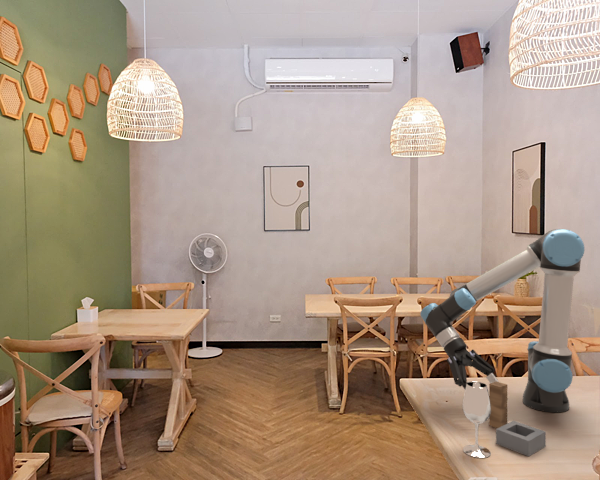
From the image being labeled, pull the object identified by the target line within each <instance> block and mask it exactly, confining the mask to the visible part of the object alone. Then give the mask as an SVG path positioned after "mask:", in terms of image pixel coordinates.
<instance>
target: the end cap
mask: <svg viewBox="0 0 600 480" xmlns="http://www.w3.org/2000/svg"><path fill="white" fill-rule="evenodd" d="M546 433H547V432H546V431H545V430H542V429H540V428H537V427H534V426H531V425H528V424H525V423H521V422H520V421H516V420H512V421H510V422H507V424H505V425H503V426H501V427H499V428H495V444H496V445H498V446H500V447H503V448H506V449H509V450H510V451H513V452H516V453H519V454H521V455H524V456H526V457H530V456H532V455H534V454H536V453H537V452H539V451H540V450H542V449H544V448H545V447H546V443H547V442H546V441H547V440H546V439H547V438H546V436H547V434H546Z"/></svg>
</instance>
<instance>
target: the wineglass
mask: <svg viewBox="0 0 600 480" xmlns="http://www.w3.org/2000/svg"><path fill="white" fill-rule="evenodd" d="M467 382H468V381H467ZM462 411H463V414H464V416H465V418H466V419H467V420H469V422H471V423H473V424H474V429H475V432H474V433H475V435H474V437H475V443H474V444H467V445H465V446H463V448H462V451H463V453H465V454H466V455H467V456H470V457H472V458H477V459H485V458H488V457H490V456H491V454H492V452H491V451H490V449H488V448H486V447H484V446H482V445H479V426H480V425H481V424H483V423H486V421H488V420H489V417H490V415H491V403H490V398H489V388H488V385H487V384H486V383H484V382H481V381H475V380H473V381H470V382H468V383H467V385H466V389H464V394H463V400H462Z"/></svg>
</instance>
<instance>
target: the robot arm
mask: <svg viewBox="0 0 600 480" xmlns="http://www.w3.org/2000/svg"><path fill="white" fill-rule="evenodd" d="M584 254H585V244H584V241H583V239H582V238H581V237H580V235H578V233H576V232H574V231H573V230H570V229H563V228H562V229H560V228H556V229H552V230H549V231H547V232H546V233H544V234H543V235H542V236H540V237H539V238H538V239H535V241H533V242H531V243H530V244H528V245H527V247H526V250H523V251H522V252H520V253H518V254H516V255H515V256H513V257H511V258H509V259H507V260H506V261H503V262H502V263H501V264H499V265H497V266H495V267H493V268H492V269H490V270H488V271H486V272H484V273H483V274H481V275H479V276H477V277H476V278H474V279H472V280H471V281H469V282H467V283H466V284H464V285H461V286H460V287H458V288H455V289H453V290H452V291H451V292H450V294H449V296H448V297H447V298H446V299H445V300H443V302H441V303H440V304H437V303H435V302H432V303H429V304H428V305H426V306H424V307H423V308H422V309H421V311H420V313H419V314H420V317H421V319H422V321H423V322H424V324H425V325H426V326H427V328H428V329H429V330H430V332H431V333H432V334H433V336H434V337H435V339H436V340H437V342H438V343H439V345H440V346H441V347H442V348H443V351H444V352H445V354H446V355H447V356H448V358H446V362H447V363H448V365H449V368H450V371H451V374H452V378H453V381H454V384H455V385H457V386H458V387H460V388H461V387H463V389H464V390H465V389H466V385H467V383H468V382H471V381H470V380H467V370H466V367H471V368H474V369H475V370H477V371H478V372H480V373H481V374H483V375H484V376H486V377H485V378H486V379H487V381H488V382H489V384H490V383H493V382H496V381H497V382H500V381H499V380H498V378H497V377H496V375H495V374H494V372H495V369H496V368H495V367H494V366H492V365H491V364H490V363H489V362H488V361H486V360H485V359H484V358H483V357H482V356H481V355H479V354H478V353H477V352H476V350H475V349H471V350H470V351H468V350H467V346H468V345H467V343H466V342H465V340H464V339H463V338H462V337H461V336H460V334H459V332H458V331H457V330H456V328H455V327H454V326H453V324H452V323H453V322H454V321H455V320H457V319H458V318H459V317H461V316H462V315H464V314H465V313H467V312H468V311H470V310H471V309H472V308H473V307H474V306H475V305H476V304H477V302H478V301H479V300H482V299H483V298H485V297H487V296H488V295H490V294H493V293H494V292H496V291H498V290H499V289H501V288H503V287H505V286H508V284H509V285H510V284H511V283H513V282H514V281H517V280H518V279H519V278H522V277H524V276H525V275H528V274H529V273H531V272H533V271H534V270H536V269H538V268H540V269H541V271H542V272H543V273H544V277H543V278H544V279H543V289H542V290H543V291H542V299H541V300H542V301H541V309H540V311H541V312H540V324H539V332H538V333H539V336H538V341H535V340H534V341H530V342H529V343H528V346H527V356H528V357H527V383H526V386H525V389H524V391H523V394H522V403H523V404H524V405H525V406H526V407H528V408H531V409H534V410H536V411H541V412H546V413H547V412H548V413H564V412H567V411H569V409H570V400H569V397H568V395H567V391H566V390H567V389H569V387H571V384H572V382H573V376H574V375H573V372H572V369H571V367H572V357H573V352H572V351H571V349H570V348H569V347H568V346H569V345H568V342H569V334H570V333H569V331H570V321H571V311H572V300H573V291H574V290H573V289H574V278H575V276H576V275H578V274H579V273H580V271H581V261H582V258H583V256H584Z"/></svg>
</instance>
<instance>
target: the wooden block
mask: <svg viewBox="0 0 600 480" xmlns="http://www.w3.org/2000/svg"><path fill="white" fill-rule="evenodd" d="M488 386H489V387H488V393H489V398H490V403H491V415H490V417H489V418H488V420H489V421H488V422H489V423H488V424H489V427H491V428H495V429H497V428H499V427H501V426H503V425H505V424H507V423H508V384H507V383H503V382H501V381H499V382H497V381H496V382H493V383H490V382H489V385H488Z"/></svg>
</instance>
